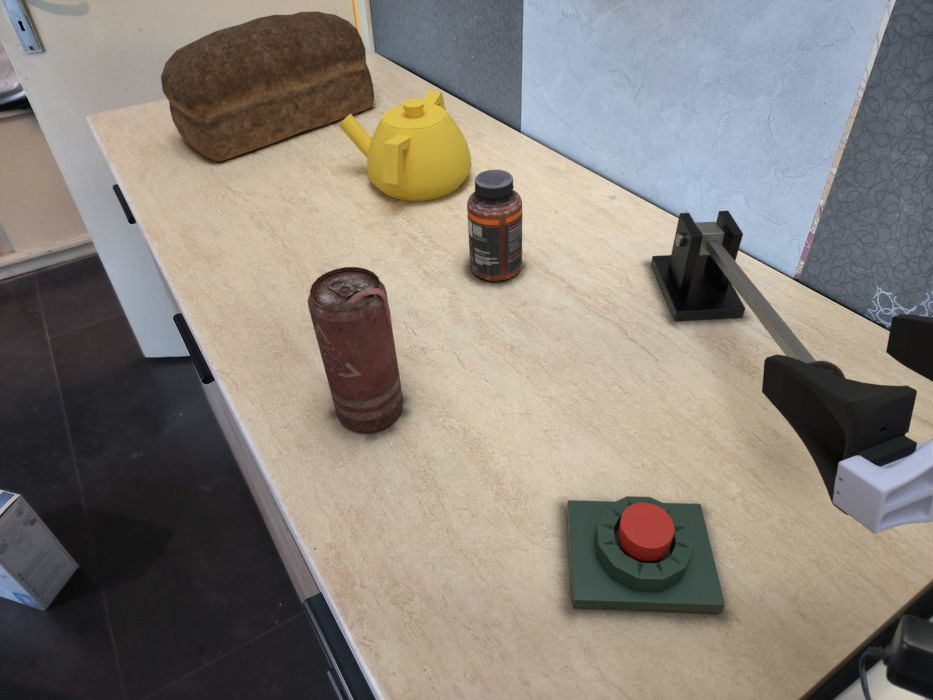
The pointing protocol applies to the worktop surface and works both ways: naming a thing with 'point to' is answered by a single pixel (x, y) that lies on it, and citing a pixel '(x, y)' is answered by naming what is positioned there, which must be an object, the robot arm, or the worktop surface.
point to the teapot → (414, 149)
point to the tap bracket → (698, 273)
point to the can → (357, 347)
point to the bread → (266, 82)
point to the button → (645, 531)
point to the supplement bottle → (495, 226)
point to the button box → (641, 582)
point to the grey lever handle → (756, 298)
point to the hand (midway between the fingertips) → (833, 352)
